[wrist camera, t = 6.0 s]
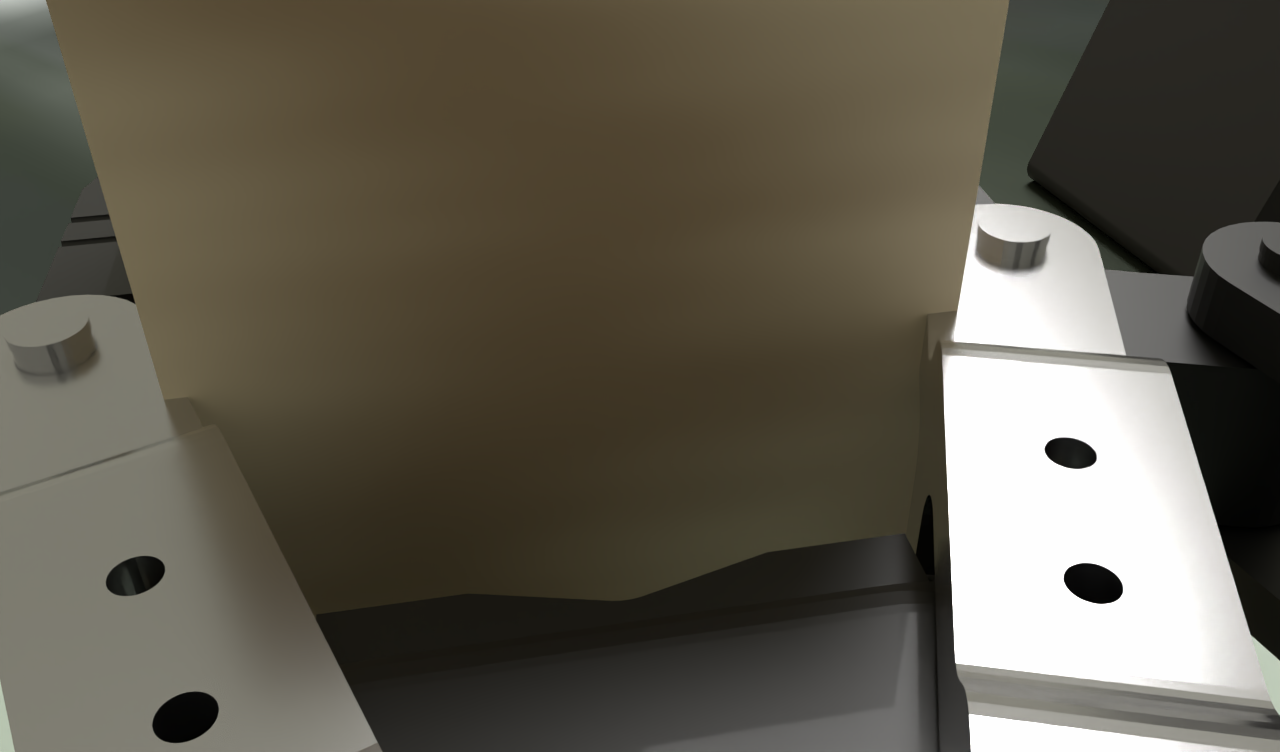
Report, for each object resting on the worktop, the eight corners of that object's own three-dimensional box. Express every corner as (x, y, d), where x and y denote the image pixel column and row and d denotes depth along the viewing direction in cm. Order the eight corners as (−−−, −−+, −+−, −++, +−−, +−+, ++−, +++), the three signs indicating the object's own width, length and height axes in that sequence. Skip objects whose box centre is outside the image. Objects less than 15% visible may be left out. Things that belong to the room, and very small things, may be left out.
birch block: (732, 626, 17) (783, -415, 10) (846, 977, 13) (1067, -359, 6) (362, 678, 16) (134, -400, 9) (361, 1067, 12) (-50, -326, 5)
